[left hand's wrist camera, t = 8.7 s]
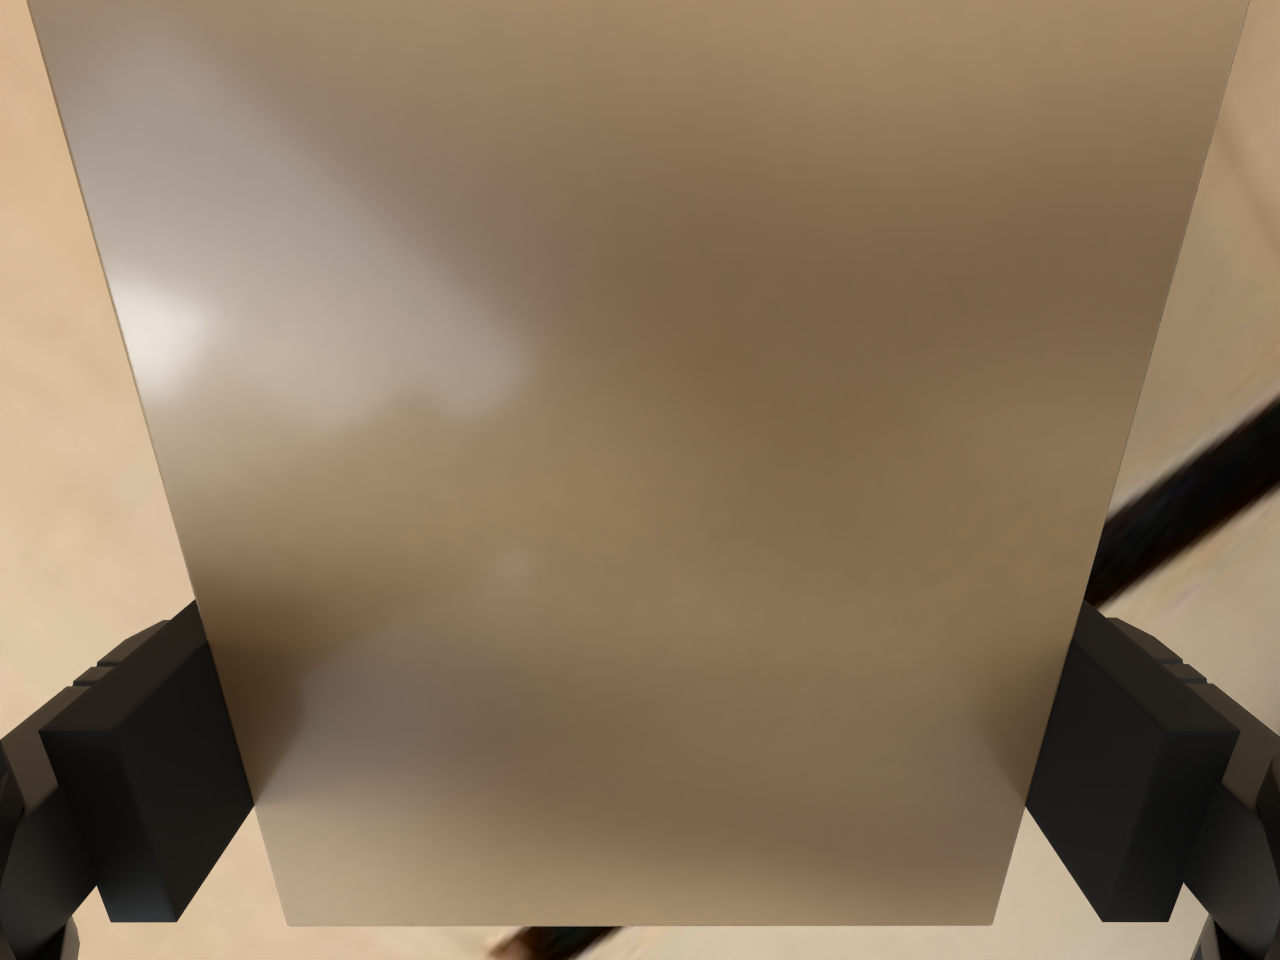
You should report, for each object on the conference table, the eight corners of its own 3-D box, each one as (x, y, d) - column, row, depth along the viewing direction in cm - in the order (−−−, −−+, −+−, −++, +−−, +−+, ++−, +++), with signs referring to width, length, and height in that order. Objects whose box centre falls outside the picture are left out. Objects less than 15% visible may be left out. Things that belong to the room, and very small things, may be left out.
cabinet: (342, -404, 12) (-701, -2547, 3) (934, -405, 12) (1973, -2563, 3) (456, 581, 20) (286, 927, 10) (823, 580, 20) (993, 927, 10)
